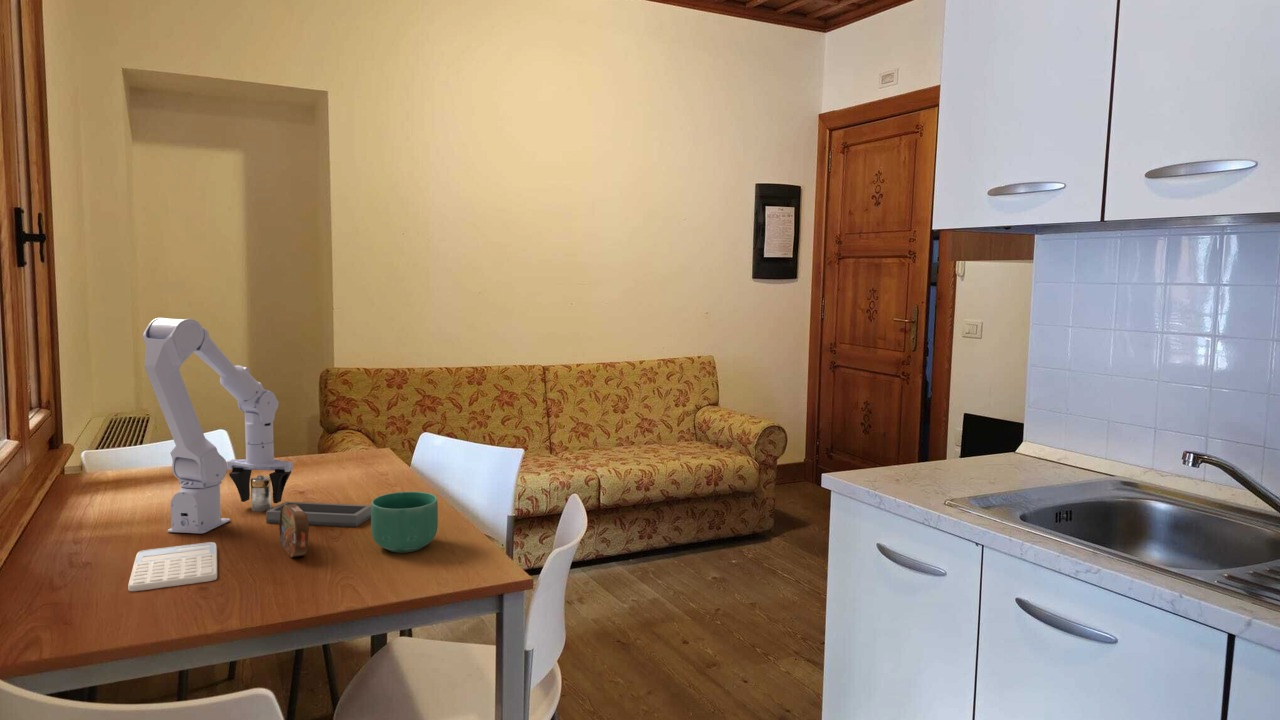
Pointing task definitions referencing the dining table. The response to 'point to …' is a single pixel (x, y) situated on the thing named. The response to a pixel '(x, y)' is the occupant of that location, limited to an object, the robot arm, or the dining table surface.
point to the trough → (326, 514)
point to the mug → (404, 520)
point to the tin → (294, 530)
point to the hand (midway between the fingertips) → (261, 501)
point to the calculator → (174, 566)
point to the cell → (261, 493)
